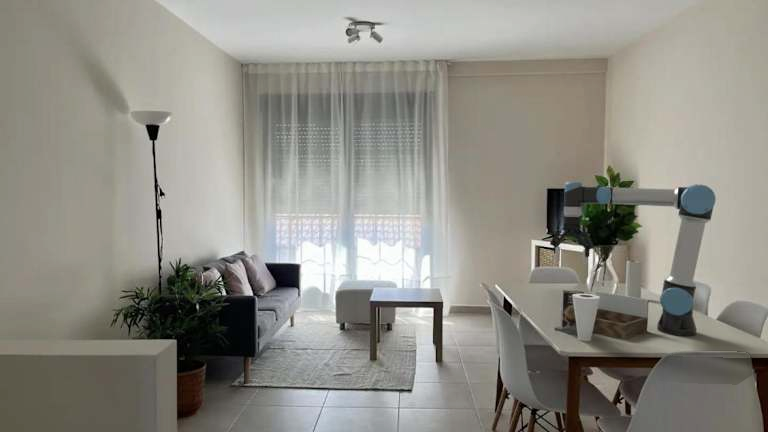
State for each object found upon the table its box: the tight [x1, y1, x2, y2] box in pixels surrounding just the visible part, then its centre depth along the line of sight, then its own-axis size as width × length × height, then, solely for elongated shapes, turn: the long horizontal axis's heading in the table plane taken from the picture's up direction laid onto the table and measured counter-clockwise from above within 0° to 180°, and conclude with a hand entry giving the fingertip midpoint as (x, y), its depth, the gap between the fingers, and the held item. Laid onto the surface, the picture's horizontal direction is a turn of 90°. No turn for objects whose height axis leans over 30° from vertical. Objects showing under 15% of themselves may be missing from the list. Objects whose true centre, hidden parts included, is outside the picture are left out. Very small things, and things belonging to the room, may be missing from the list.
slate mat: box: [554, 325, 578, 336], centre depth 234 cm, size 10×10×1 cm
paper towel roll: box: [624, 260, 643, 298], centre depth 310 cm, size 7×6×21 cm
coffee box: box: [560, 289, 586, 330], centre depth 233 cm, size 9×6×16 cm
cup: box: [572, 293, 600, 342], centre depth 219 cm, size 11×11×18 cm
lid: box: [595, 290, 649, 319], centre depth 244 cm, size 24×1×8 cm, turn 40°
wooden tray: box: [592, 309, 649, 340], centre depth 237 cm, size 24×21×6 cm
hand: (570, 262), depth 245 cm, fingers open, 13 cm apart
